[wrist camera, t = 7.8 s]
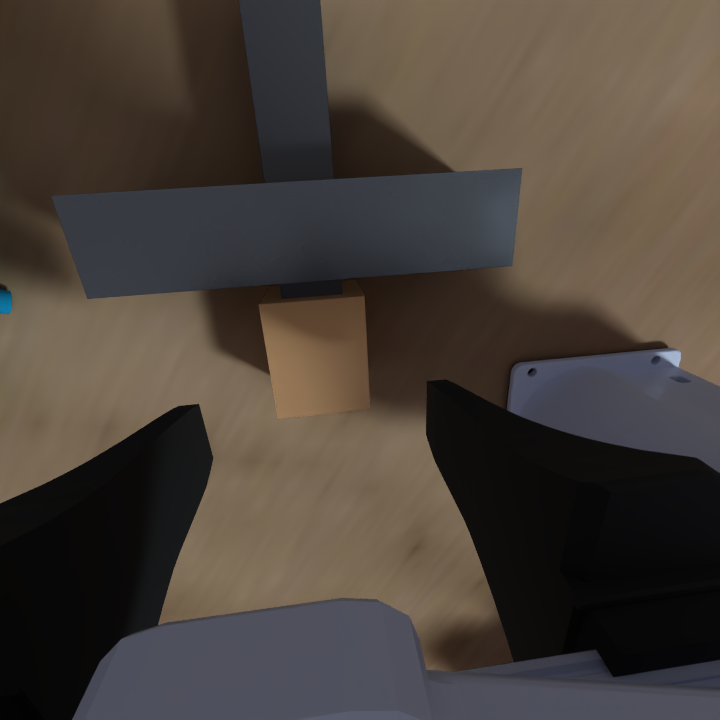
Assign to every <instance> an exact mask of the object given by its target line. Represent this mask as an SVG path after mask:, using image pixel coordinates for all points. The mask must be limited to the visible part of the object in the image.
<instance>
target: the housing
mask: <svg viewBox="0 0 720 720" xmlns="http://www.w3.org/2000/svg"><path fill="white" fill-rule="evenodd" d="M521 175H522V168H516V169H499V170H482V171H465V172H448V173H430V174H413V175H396V176H379V177H362V178H345V179H328V180H311V181H294V182H277V183H260V184H243V185H225V186H208V187H191V188H174V189H157V190H140V191H123V192H106V193H89V194H72V195H55V196H51V197H52V200H53V203H54V206H55V209H56V211H57V214H58V217H59V220H60V223H61V225H62V228H63V231H64V234H65V237H66V240H67V242H68V245H69V248H70V251H71V254H72V256H73V259H74V262H75V265H76V268H77V271H78V273H79V276H80V279H81V282H82V285H83V288H84V290H85V293H86V296H87V299H92V298H105V297H118V296H131V295H144V294H156V293H169V292H182V291H195V290H208V289H221V288H234V287H247V286H260V285H273V284H286V283H299V282H311V281H324V280H337V279H350V278H363V277H376V276H389V275H402V274H415V273H428V272H441V271H453V270H466V269H479V268H492V267H505V266H512V263H513V253H514V243H515V233H516V224H517V214H518V204H519V194H520V184H521Z"/></svg>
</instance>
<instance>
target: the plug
mask: <svg viewBox="0 0 720 720" xmlns="http://www.w3.org/2000/svg"><path fill="white" fill-rule="evenodd" d="M239 6H240V13H241V20H242V27H243V34H244V41H245V48H246V55H247V62H248V69H249V76H250V83H251V90H252V97H253V104H254V111H255V118H256V124H257V131H258V138H259V145H260V152H261V159H262V166H263V173H264V180H265V183H277V182H294V181H311V180H328V179H334V174H333V161H332V148H331V135H330V122H329V109H328V96H327V83H326V70H325V57H324V44H323V31H322V18H321V5H320V0H239ZM259 311H260V317H261V322H262V328H263V334H264V340H265V346H266V352H267V358H268V364H269V370H270V376H271V381H272V387H273V393H274V399H275V405H276V411H277V417H278V419H282V418H291V417H301V416H311V415H321V414H331V413H340V412H350V411H360V410H370V390H369V371H368V353H367V334H366V315H365V296H364V294H363V292H362V290H361V288H360V286H359V284H358V282H357V280H356V279H350V280H342V279H337V280H324V281H311V282H299V283H286V284H279V285H272V286H270V287H269V289H268V290H267V292H266V293H265V295H264V297H263V298H262V300H261V301H260V303H259Z"/></svg>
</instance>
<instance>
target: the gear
mask: <svg viewBox="0 0 720 720" xmlns="http://www.w3.org/2000/svg"><path fill="white" fill-rule="evenodd" d="M11 307H12V296H11V292H10V291H8V290H0V314H9V313H10V311H11Z"/></svg>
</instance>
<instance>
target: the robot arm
mask: <svg viewBox="0 0 720 720" xmlns="http://www.w3.org/2000/svg"><path fill="white" fill-rule="evenodd" d="M653 358H654V359H653ZM652 359H653V360H652ZM680 359H681V352H680V351H678V350H676V349H674V348H664V349H653V350H643V351H633V352H622V353H612V354H601V355H591V356H581V357H570V358H560V359H550V360H539V361H529V362H520V363H517V364H516V365H514V367H513V368H512V370H511V377H510V386H509V394H508V403H507V410H505V409H503V408H501V407H499V406H497V405H495V404H493V403H491V402H489V401H487V400H485V399H483V398H481V397H479V396H477V395H475V394H473V393H472V392H470V391H468V390H466V389H464V388H462V387H460V386H458V385H457V384H455V383H453V382H450V381H448V380H435V381H427V411H426V436H427V439H428V442H429V445H430V448H431V451H432V454H433V457H434V460H435V462H436V464H437V466H438V468H439V470H440V472H441V474H442V476H443V478H444V480H445V482H446V484H447V486H448V488H449V490H450V492H451V494H452V496H453V498H454V500H455V502H456V504H457V506H458V508H459V510H460V512H461V514H462V516H463V518H464V521H465V523H466V525H467V527H468V530H469V532H470V535H471V537H472V540H473V543H474V545H475V548H476V551H477V553H478V556H479V559H480V561H481V564H482V567H483V570H484V573H485V576H486V578H487V581H488V584H489V587H490V590H491V593H492V595H493V598H494V601H495V604H496V607H497V611H498V614H499V617H500V620H501V623H502V626H503V629H504V632H505V635H506V638H507V641H508V644H509V647H510V651H511V654H512V657H513V660H514V663H507V664H501V665H495V666H489V667H482V668H476V669H470V670H463V671H457V672H454V671H438V670H426V666H425V662H424V658H423V653H422V649H421V645H420V640H419V637H418V635H417V633H416V630H415V628H414V626H413V624H412V621H411V619H410V617H409V616H408V615H406V614H404V613H402V612H400V611H398V610H396V609H394V608H392V607H390V606H388V605H386V604H384V603H382V602H380V601H379V600H377V599H354V598H338V599H331V600H324V601H317V602H310V603H302V604H295V605H288V606H281V607H274V608H267V609H260V610H253V611H246V612H239V613H231V614H224V615H217V616H210V617H203V618H196V619H189V620H182V621H175V622H167V623H164V624H161V625H158V622H159V619H160V615H161V611H162V607H163V604H164V600H165V597H166V593H167V590H168V586H169V583H170V580H171V576H172V573H173V569H174V567H175V564H176V561H177V558H178V556H179V553H180V550H181V548H182V546H183V543H184V541H185V538H186V536H187V533H188V531H189V529H190V526H191V524H192V521H193V519H194V516H195V514H196V512H197V509H198V507H199V504H200V502H201V499H202V497H203V494H204V491H205V489H206V486H207V482H208V478H209V475H210V470H211V466H212V461H213V455H212V452H211V448H210V444H209V440H208V436H207V433H206V429H205V425H204V421H203V418H202V414H201V410H200V406H199V404H195V405H185V406H178V407H176V408H174V409H172V410H170V411H168V412H167V413H165V414H163V415H162V416H160V417H159V418H157V419H155V420H154V421H152V422H151V423H149V424H148V425H146V426H144V427H143V428H141V429H140V430H138V431H137V432H135V433H134V434H132V435H131V436H129V437H127V438H126V439H124V440H123V441H121V442H119V443H118V444H116V445H114V446H113V447H111V448H109V449H108V450H106V451H104V452H103V453H101V454H99V455H98V456H96V457H94V458H93V459H91V460H89V461H88V462H86V463H84V464H82V465H80V466H78V467H77V468H75V469H73V470H71V471H69V472H67V473H65V474H63V475H61V476H59V477H57V478H55V479H53V480H51V481H49V482H47V483H45V484H43V485H41V486H39V487H37V488H34V489H32V490H30V491H28V492H25V493H23V494H21V495H19V496H16V497H14V498H12V499H9V500H7V501H5V502H3V503H0V720H720V386H717V385H715V384H713V383H711V382H709V381H706V380H704V379H702V378H700V377H698V376H695V375H693V374H691V373H689V372H687V371H684V370H682V369H680V368H678V366H679V362H680ZM531 368H533V371H532V372H531V373H529V374H528V371H529V370H530V369H531Z"/></svg>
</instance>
